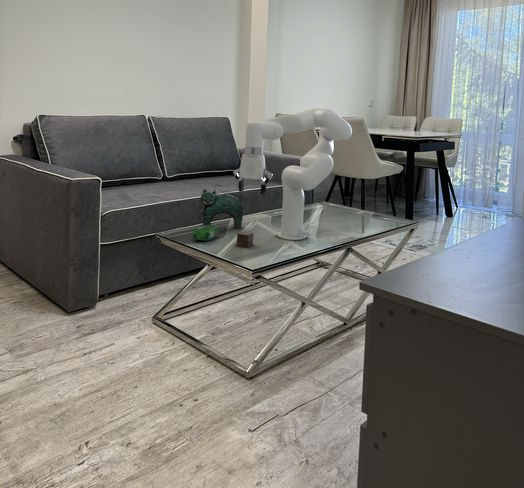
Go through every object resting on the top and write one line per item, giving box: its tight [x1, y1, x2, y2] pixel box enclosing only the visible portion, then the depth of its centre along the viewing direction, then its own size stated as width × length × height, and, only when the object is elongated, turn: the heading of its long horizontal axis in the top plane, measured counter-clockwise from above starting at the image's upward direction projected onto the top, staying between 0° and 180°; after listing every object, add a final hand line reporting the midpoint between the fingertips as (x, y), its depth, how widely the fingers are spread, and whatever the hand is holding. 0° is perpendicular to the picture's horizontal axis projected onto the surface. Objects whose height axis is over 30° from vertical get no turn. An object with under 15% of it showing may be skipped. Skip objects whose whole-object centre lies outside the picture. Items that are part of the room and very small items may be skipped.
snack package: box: [192, 224, 220, 242], centre depth 209 cm, size 7×16×5 cm, turn 161°
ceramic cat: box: [200, 184, 244, 229], centre depth 231 cm, size 20×6×20 cm, turn 99°
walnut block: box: [236, 230, 254, 249], centre depth 203 cm, size 5×5×5 cm
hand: (251, 192), depth 206 cm, fingers open, 9 cm apart
